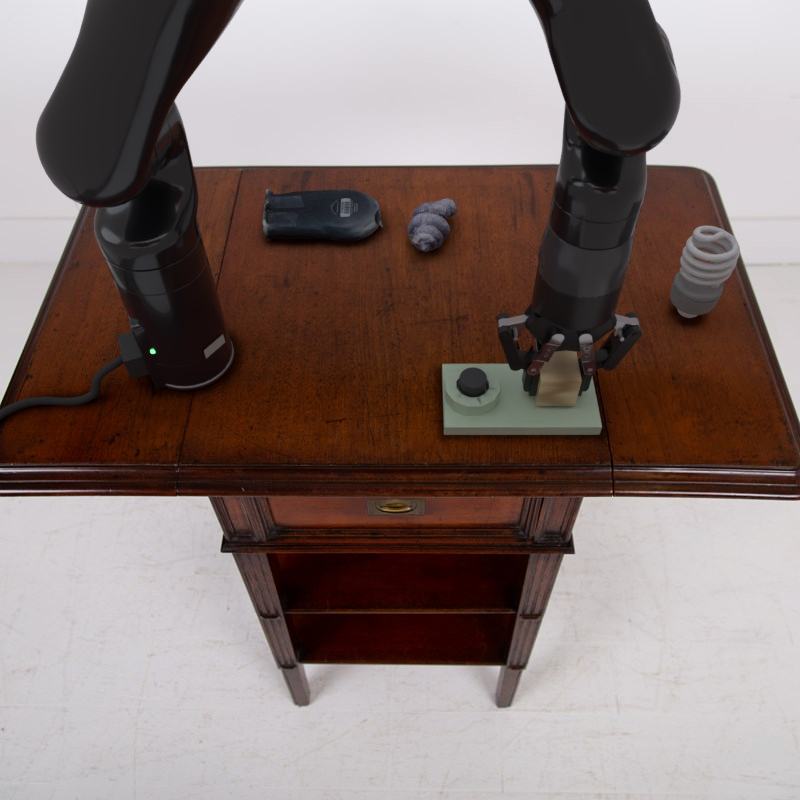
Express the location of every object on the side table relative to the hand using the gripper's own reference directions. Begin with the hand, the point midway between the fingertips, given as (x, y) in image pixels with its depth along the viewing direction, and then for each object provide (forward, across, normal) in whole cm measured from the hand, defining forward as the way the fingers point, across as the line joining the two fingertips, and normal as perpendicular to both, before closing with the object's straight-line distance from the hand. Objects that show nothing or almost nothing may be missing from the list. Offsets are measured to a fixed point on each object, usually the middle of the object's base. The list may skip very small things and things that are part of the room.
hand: (554, 389), depth 79 cm
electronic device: (+2, -26, +30) cm, 40 cm away
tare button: (0, -8, 0) cm, 9 cm away
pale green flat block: (+2, -4, 0) cm, 4 cm away
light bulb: (+2, +17, +13) cm, 22 cm away
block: (0, 0, 0) cm, 0 cm away
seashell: (+2, -12, +27) cm, 30 cm away
